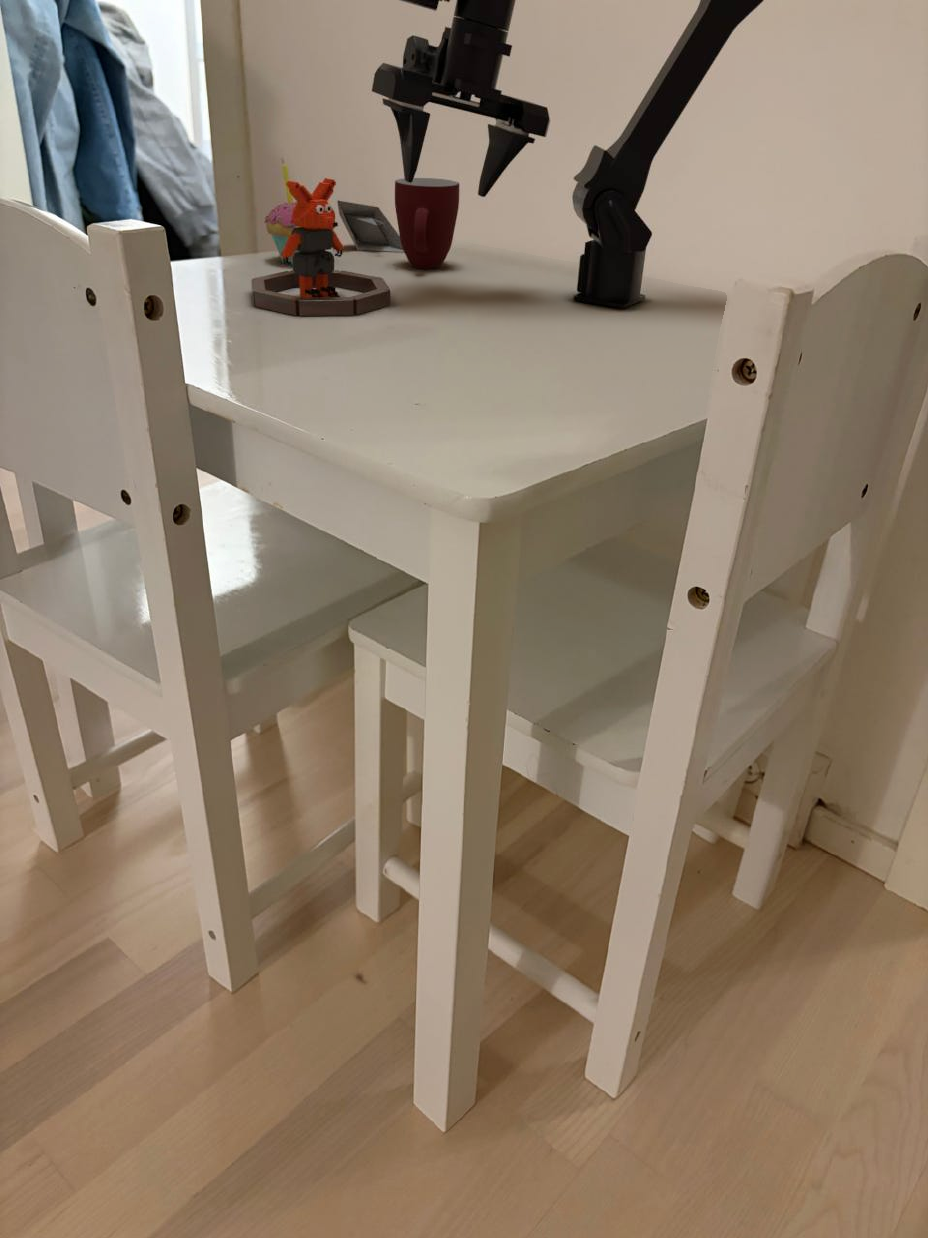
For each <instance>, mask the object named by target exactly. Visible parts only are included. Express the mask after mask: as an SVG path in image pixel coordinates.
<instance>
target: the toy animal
mask: <svg viewBox="0 0 928 1238" xmlns="http://www.w3.org/2000/svg"><path fill="white" fill-rule="evenodd" d="M286 185H287V187H289V192H290V194H291V195H292V197H293V199H294V200H295V202H296V206H295V207H294V210H292V222H293V223H294V225H297V226H301V227H297V228H293V230H292V231H291V235H290V237H289V238H288V239H287V243H286V244H285V248H284V249H283V251H282V252H281V256H282V258H283V262H284V264H286V263H288V264H287V265H291V262H288V259H290V257H292V255H293V254H294V253H295V251H296V250H298V251H300V252H297V253H295V254H294V255H293V257H292V258H293V265H292V270H293V271H294V273H296V274H297V275H299V283H300V287H299V297H301V298H312V297H341V295H339V292H338V291H336V287H331V286H328V274H331V273H332V272H333V270H335V257H338V258H340V257H342V255H343V251H344V249H345V247H344V245H343V243H342V242H341V241H340V239H339V237H338V234H337V233H336V232H335V230H333V231H332V229H336V228H337V227H339V222H338V221H336V212H335V210H334V209H333V206H332V205H331V204H330V203H329V202H328V201H329V199H330V198H331V197H332V195H333V194H334V188H335V186H337V182H336V181H335V179H333V178H328V177H324V179H323V180H322V181H320V182H318V184H317V186H316V187H315V188H314V190H313V191H312V193H311V192H310V191H309V190H308V189H307V187H305V185H303V184H301V183H300V182H298V181H293V180H290V181H287V183H286ZM328 250H335V251H336V253H332V251H328ZM285 259H286V261H285ZM283 262H282V263H283ZM312 276H316V286H315V287H313V283H312Z"/></svg>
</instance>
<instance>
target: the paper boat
mask: <svg viewBox="0 0 928 1238" xmlns="http://www.w3.org/2000/svg"><path fill="white" fill-rule="evenodd" d="M336 202H337V208H338V215H339V217H340V219H341V221H342V223H343V225H344V227H345V229H346V230H347V233H348V235H349V237H350V238H351V241H352V243H353V244H354V247H355V248H356V249H357V250H358V251H371V252H373V251H374V252H397V253H400V252H401V253H404V250H403V248H402V245H401V241H400V234H399V232H397V231H396V229H395V228H394V226H393V225H392V224H391V222H390V221H389V219H388V218H387V217H386V216H385V214H384V212H382V210H381V208H380V207H378V206H374V205H367V204H362V203H356V202H355V203H354V202H351V201H344V200H343V201H342V200H336Z"/></svg>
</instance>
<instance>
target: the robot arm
mask: <svg viewBox="0 0 928 1238" xmlns="http://www.w3.org/2000/svg"><path fill="white" fill-rule="evenodd" d="M399 1H400V2H404V3H408V4H410V5H414V6H417V7H421V8H425V9H427V10H431V11H435V12H437V10H438V6H439V2H443V1H444V2H446V3H450V2H451V0H399ZM516 1H517V0H456V1H455V7H454V12H453V17H452V20H451V21H452V22H451V27H448V26H445V27H444V31H443V32H442V34H441V39H440V42H439V44H438V46H435V45H431V44H430V42H429V40H428V38H424V37H421V36H417V35H411V36H408V37H407V39H406V42H405V46H404V50H403V55H402V66H401V67H400V66H397V65H393V64H390V63H386V62H382V63H381V64H380V65H379V66H378V67H377V69H376V71H375V72H374V75H373V80H372V86H371V92H373V93H375V94H377V95H380V96H383V97H385V98H382V99H381V100H382V105H384V106H386V107H389V108H390V110H391V112H392V115H393V117H394V120H395V122H396V126H397V131H398V136H399V141H400V142H399V143H400V150H401V158H402V159H401V160H402V166H403V177H404V178H405V181H407V182H409V183H412V181H413V178H415V176H416V174H417V171H418V167H419V162H420V158H421V154H422V150H423V146H424V142H425V139H426V134H427V130H428V127H429V123H430V118H431V113H430V112H428V111H425V110H424V108H425V106H426V105H427V104H428V103H432V104H435V105H439V106H444V107H448V108H451V109H455V110H459V111H463V112H467V113H471V114H475V115H480V116H484V117H488V118H492V119H494V120H495V124H490V123H487V133H488V146H487V149H486V154H485V158H484V161H483V166H482V170H481V174H480V178H479V182H478V189H477V195H478V196H480V197H482V198H486V197H487V195H488V194H489V192H490V191H491V190H492V188H493V187H494V186H495V184H496V183H497V181H498V180H499V178H500V177H501V176H502V175H503V173H504V171H506V169H507V168H508V166H509V165H510V164H511V163H512V162H513V161H514V159H515V158H516V157H518V155H519V154H520V153H521V152H522V150H523V149H524V148H525V147H526V146H527V144H532V145H533V144H535V141H536V138H535V137H531V136H530V135H535V136H539V137H542V138H546V137H547V135H548V131H549V128H550V123H551V118H550V113H549V109H548V107H546V106H543V105H541V104H537V103H535V102H531V101H528V100H525V99H521V98H518V97H513V96H510V95H507V94H503V93H502V90H500V89H497V84H498V79H499V76H500V71H501V67H502V64H503V63H502V62H503V59H504V58H503V57H504V56H506V57H508V58H509V57H511V53H512V49H513V45H512V44H509V43H507V42H508V41H507V40H508V37H509V36H508V35H509V31H510V27H511V23H512V19H513V13H514V9H515V6H516ZM764 1H765V0H699V3H698V6H697V9H696V11H695V12H694V14H693V15H692V17H691V19H690V20H689V22H688V23H687V25H686V27H685V29H684V30H683V31H682V34H681V35H680V37H679V39H678V41H677V42H676V44H675V45H674V47H673V48H672V50H671V52H670V54H669V55H668V57H667V58H666V60H665V62H664V63H663V65H662V67H661V68H660V70H659V72H658V73H657V75H656V77H654V80H653V81H652V83H651V85H650V87H649V88H648V90H647V91H646V93H645V94H644V97H643V98H642V100H641V101H640V103H639V105H638V106H637V107H636V110H635V111H634V113H633V114H632V117H631V118H630V119H629V120H628V121H629V122H628V123H627V124H626V126H625V128H624V129H623V131H622V133H621V134H620V136H619V137H618V138H617V139H616V140H615V141H614V142H613V143H612V144H611V145H610V146H609V147H608V148H607V149H604V148H602V147H600V146H598V145H597V144H596V145H593V146H592V148H591V150H590V152H589V154H588V156H587V159H586V162H585V164H584V165H583V167H582V169H581V170H580V171H579V172H578V173H577V174H575V176H573V180H574V181H575V182H576V184H575V187H574V189H573V192H572V206H573V210H574V213H575V214H576V216H577V217H578V218H579V219H580V220H581V221H582V222H583V223H584V224H585V225H586V230H587V234H588V237H589V238H590V239H591V240H587V241H585V242H584V251H583V253H582V254H581V255H580V256H579V262H578V263H579V264H578V272H577V273H578V274H577V284H576V291H577V293H576V294H573V297H572V299H573V300H574V301H579V302H583V303H590V304H595V305H602V306H606V307H611V308H616V309H617V308H618V309H626V308H629V307H630V306H632V305H635V304H637V303H640V302H642V301H644V300H646V296H647V295H646V294H643V293H641V291H642V283H643V275H644V267H645V259H646V252H647V246H648V245H649V242H650V240H651V238H652V237H653V232H652V230H651V229H650V228H649V226H648V225H647V224H646V222H645V221H644V219H642V218H641V216H640V215H639V214H638V212H637V211H636V209H637V207H638V204H639V203H640V200H641V199H642V196H643V194H644V191H645V188H646V185H647V180H648V177H649V175H650V170H651V167H652V163H653V161H654V159H655V156H656V155H657V154H658V152H659V150H660V149H661V147H662V145H663V144H664V142H665V140H666V139H667V138H668V136H669V134H670V133H671V131H672V130H673V128H674V126H675V124H676V123H677V121H678V120H679V119H680V116H681V115H682V114H683V112H684V110H685V108H686V107H687V106H688V104H689V103H690V101H691V100H692V98H693V96H694V94H695V93H696V91H697V90H698V88H699V86H700V85H701V83H702V82H703V80H704V79H705V77H706V75H707V74H708V72H709V70H710V69H711V67H712V65H713V64H714V62H715V60H716V59H717V58H718V56H719V54H720V53H721V51H722V50H723V48H724V46H725V45H726V43H727V41H728V40H729V38H730V37H731V35H732V34H733V32H734V31H735V30H736V28H737V27H738V26H739V25H740V24H741V23H742V22H743V21H744V20H745V19H746V18H747V17H749V15H751V13H752V12H754V11H755V10H756V9H757V8H758V7H759V6H760V5H761V4H762V3H763V2H764ZM458 94H459V96H457V95H458ZM472 95H473V96H474V98H476V99H479V101H476V100H472ZM404 178H403V179H404Z"/></svg>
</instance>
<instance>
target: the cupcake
mask: <svg viewBox="0 0 928 1238" xmlns="http://www.w3.org/2000/svg"><path fill="white" fill-rule="evenodd" d="M281 162H282V165H281V170H282V176H283V181H284V187H285V192H286V198H287V202H283V203H281V204H278V205H276V206H275V207H274V208H272V210H270V211H269V212H268V214H267V215H266V216H265V217H264V224H265V229H266V231H267V234H269V235H270V236H271V237H272V239H273V242H274V245H275V247H276V249H277V251H278V254H279V257H280V260H281V263H284V262H283V258H282V256H281V252H282V251H283V249H284V248H285V244H286V243H287V239H288V238H289V237H290V235H291V231H292V230H293V228H297V227H301V226H297V225H294V223H293V222H292V210H294V207H295V206H296V203H297V201H294V198H293V196H292V195H291V194H290V192H289V187H287V185H286V183H287V181H291V180H290V175H289V169H288V164H285V161H284V157H281ZM334 229H335V228H334ZM334 229H332V231H335V230H334ZM297 252H300V251H298V250H296V251H295V253H297ZM295 253H294V254H295ZM294 254H293V255H294ZM293 255H292V257H293ZM292 257H290V259H288V262H291V264H290V265H291V266H293V258H292ZM285 261H286V259H285ZM284 264H285V265H286V264H287V265H289V264H288V263H284Z"/></svg>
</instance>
